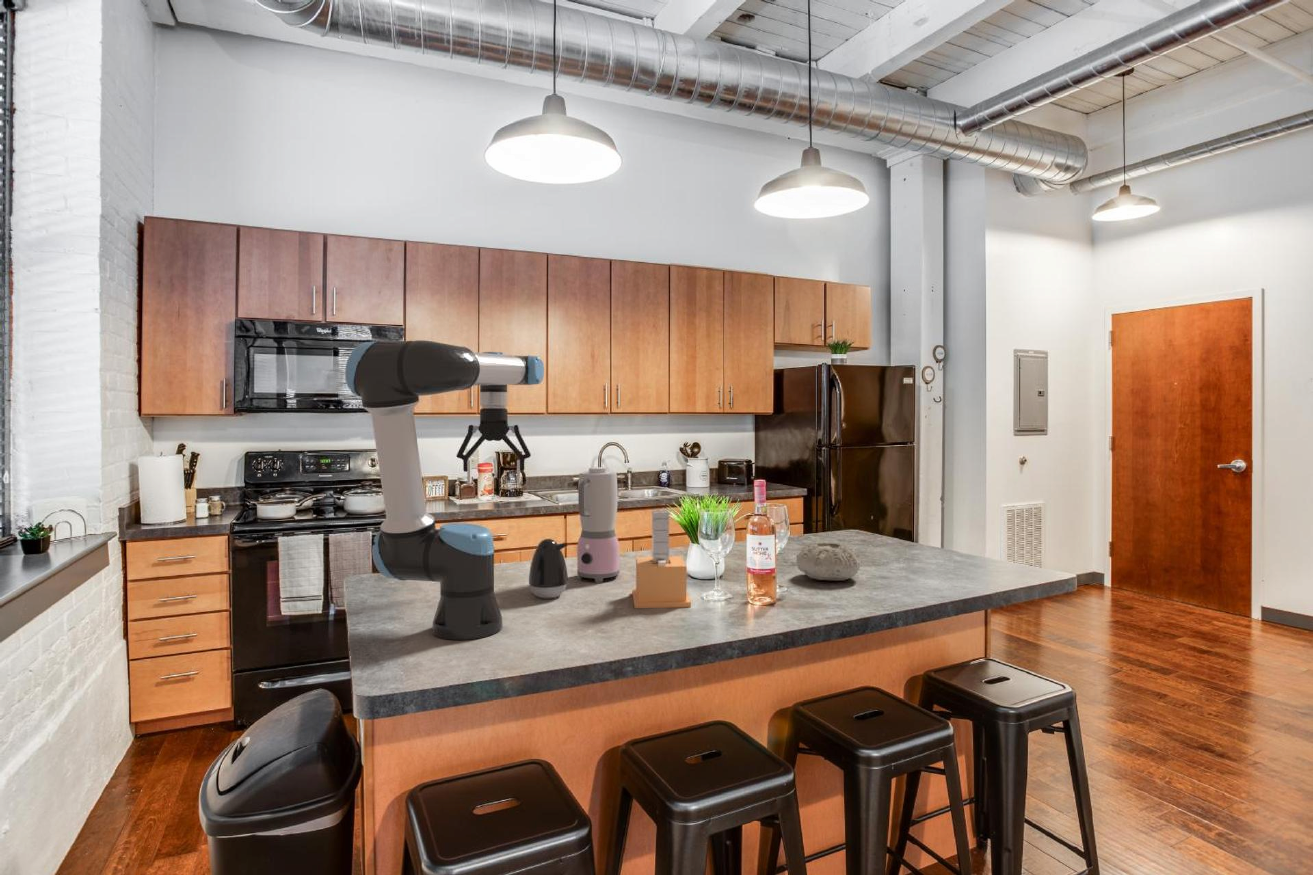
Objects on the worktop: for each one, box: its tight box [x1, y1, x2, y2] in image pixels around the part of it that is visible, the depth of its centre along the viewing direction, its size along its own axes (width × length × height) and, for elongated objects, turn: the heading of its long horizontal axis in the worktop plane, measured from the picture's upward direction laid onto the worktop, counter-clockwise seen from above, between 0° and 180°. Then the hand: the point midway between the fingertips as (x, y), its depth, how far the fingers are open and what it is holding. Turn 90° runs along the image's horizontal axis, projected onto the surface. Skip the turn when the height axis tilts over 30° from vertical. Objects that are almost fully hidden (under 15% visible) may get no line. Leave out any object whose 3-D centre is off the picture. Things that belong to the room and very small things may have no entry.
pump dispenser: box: [528, 538, 569, 600], centre depth 189 cm, size 10×10×15 cm
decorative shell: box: [796, 541, 861, 582], centre depth 208 cm, size 18×18×10 cm
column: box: [651, 509, 670, 564], centre depth 185 cm, size 6×4×22 cm
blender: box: [576, 466, 620, 583], centre depth 208 cm, size 16×12×32 cm
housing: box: [631, 555, 692, 609], centre depth 185 cm, size 14×14×11 cm
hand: (494, 483), depth 202 cm, fingers open, 13 cm apart
